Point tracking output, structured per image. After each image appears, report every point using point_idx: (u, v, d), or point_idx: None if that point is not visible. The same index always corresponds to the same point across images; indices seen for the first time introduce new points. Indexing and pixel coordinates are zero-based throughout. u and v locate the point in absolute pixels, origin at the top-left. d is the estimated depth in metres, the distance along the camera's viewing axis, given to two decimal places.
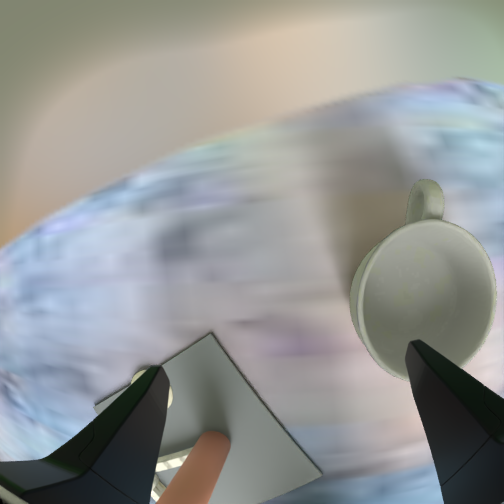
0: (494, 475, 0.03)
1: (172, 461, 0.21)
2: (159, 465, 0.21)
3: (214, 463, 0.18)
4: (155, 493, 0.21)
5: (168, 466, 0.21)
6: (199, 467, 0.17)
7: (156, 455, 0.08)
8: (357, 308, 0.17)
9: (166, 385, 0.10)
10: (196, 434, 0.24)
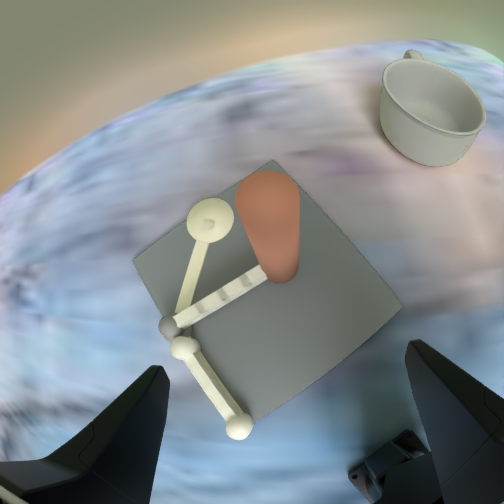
0: (494, 475, 0.03)
1: (229, 285, 0.22)
2: (210, 297, 0.22)
3: None
4: (194, 360, 0.21)
5: (222, 296, 0.22)
6: None
7: (156, 455, 0.08)
8: (385, 89, 0.21)
9: (166, 385, 0.10)
10: (257, 261, 0.25)
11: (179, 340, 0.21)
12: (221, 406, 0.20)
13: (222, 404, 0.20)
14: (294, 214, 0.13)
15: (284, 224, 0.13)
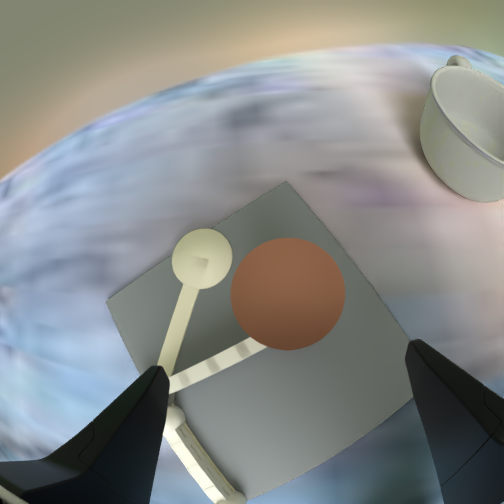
0: (494, 475, 0.03)
1: (222, 355, 0.16)
2: (198, 368, 0.16)
3: None
4: (177, 437, 0.15)
5: (213, 368, 0.16)
6: None
7: (156, 455, 0.08)
8: (436, 101, 0.15)
9: (166, 385, 0.10)
10: None
11: None
12: (209, 489, 0.14)
13: (210, 487, 0.14)
14: (333, 326, 0.07)
15: None
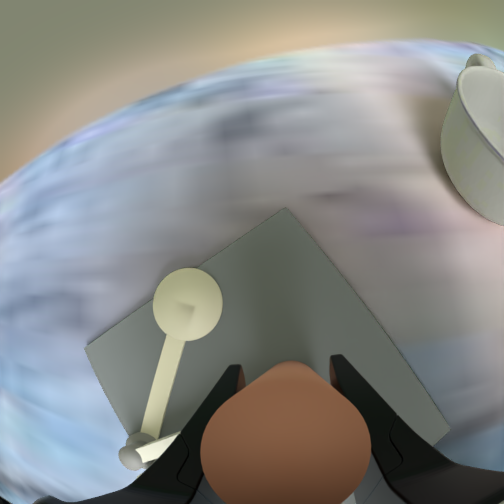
0: None
1: None
2: None
3: None
4: None
5: None
6: (302, 367, 0.09)
7: None
8: (466, 110, 0.12)
9: (244, 385, 0.10)
10: (257, 376, 0.15)
11: None
12: None
13: None
14: (348, 492, 0.04)
15: None
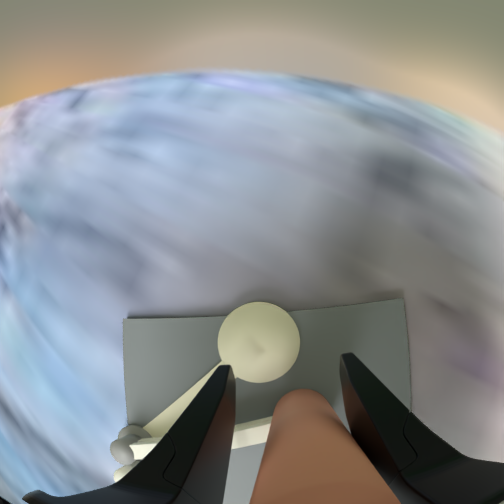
0: None
1: None
2: None
3: None
4: None
5: None
6: (334, 420, 0.08)
7: (228, 461, 0.08)
8: None
9: (234, 385, 0.10)
10: None
11: None
12: None
13: None
14: None
15: None
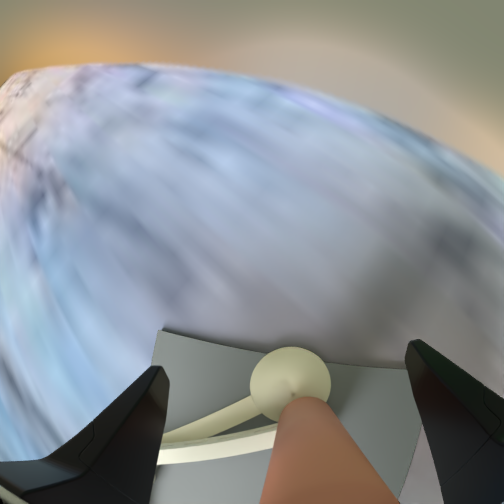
0: (494, 475, 0.03)
1: (224, 445, 0.12)
2: (193, 450, 0.12)
3: None
4: None
5: (211, 454, 0.12)
6: (337, 427, 0.08)
7: (156, 455, 0.08)
8: None
9: (166, 385, 0.10)
10: None
11: None
12: None
13: None
14: None
15: None
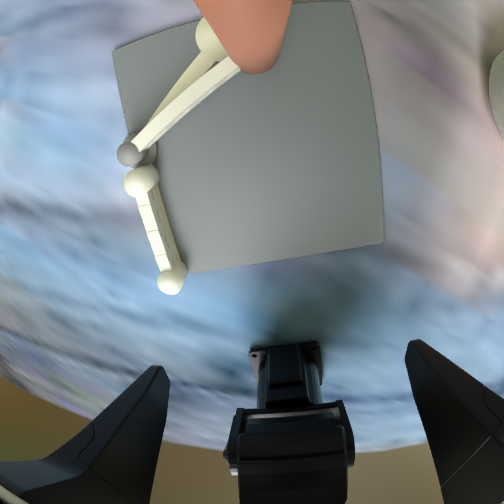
0: (494, 475, 0.03)
1: (193, 87, 0.15)
2: (172, 106, 0.15)
3: None
4: (147, 200, 0.18)
5: (187, 101, 0.15)
6: None
7: (156, 455, 0.08)
8: None
9: (166, 385, 0.10)
10: (264, 109, 0.17)
11: (136, 174, 0.17)
12: (160, 256, 0.20)
13: (162, 255, 0.20)
14: None
15: (274, 12, 0.06)
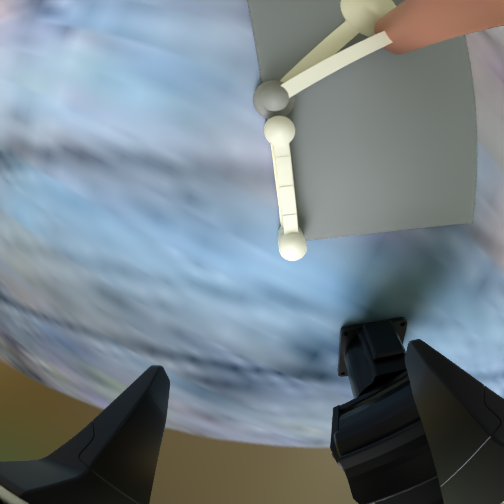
0: (494, 475, 0.03)
1: (353, 48, 0.13)
2: (331, 61, 0.14)
3: None
4: (287, 151, 0.17)
5: (346, 60, 0.14)
6: None
7: (156, 455, 0.08)
8: None
9: (166, 385, 0.10)
10: (398, 87, 0.16)
11: (281, 120, 0.16)
12: (289, 216, 0.19)
13: (291, 214, 0.19)
14: None
15: None
